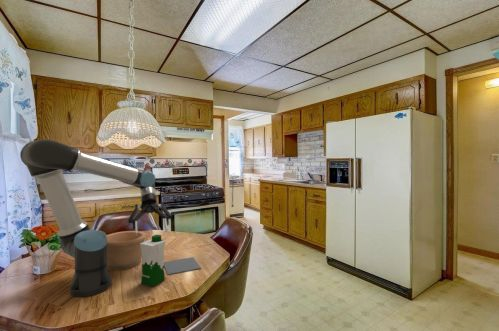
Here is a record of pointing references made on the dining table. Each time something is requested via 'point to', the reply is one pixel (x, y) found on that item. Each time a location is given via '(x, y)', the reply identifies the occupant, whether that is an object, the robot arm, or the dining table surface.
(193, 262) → the mat
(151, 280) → the soya milk
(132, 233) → the pottery
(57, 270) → the dining table surface
